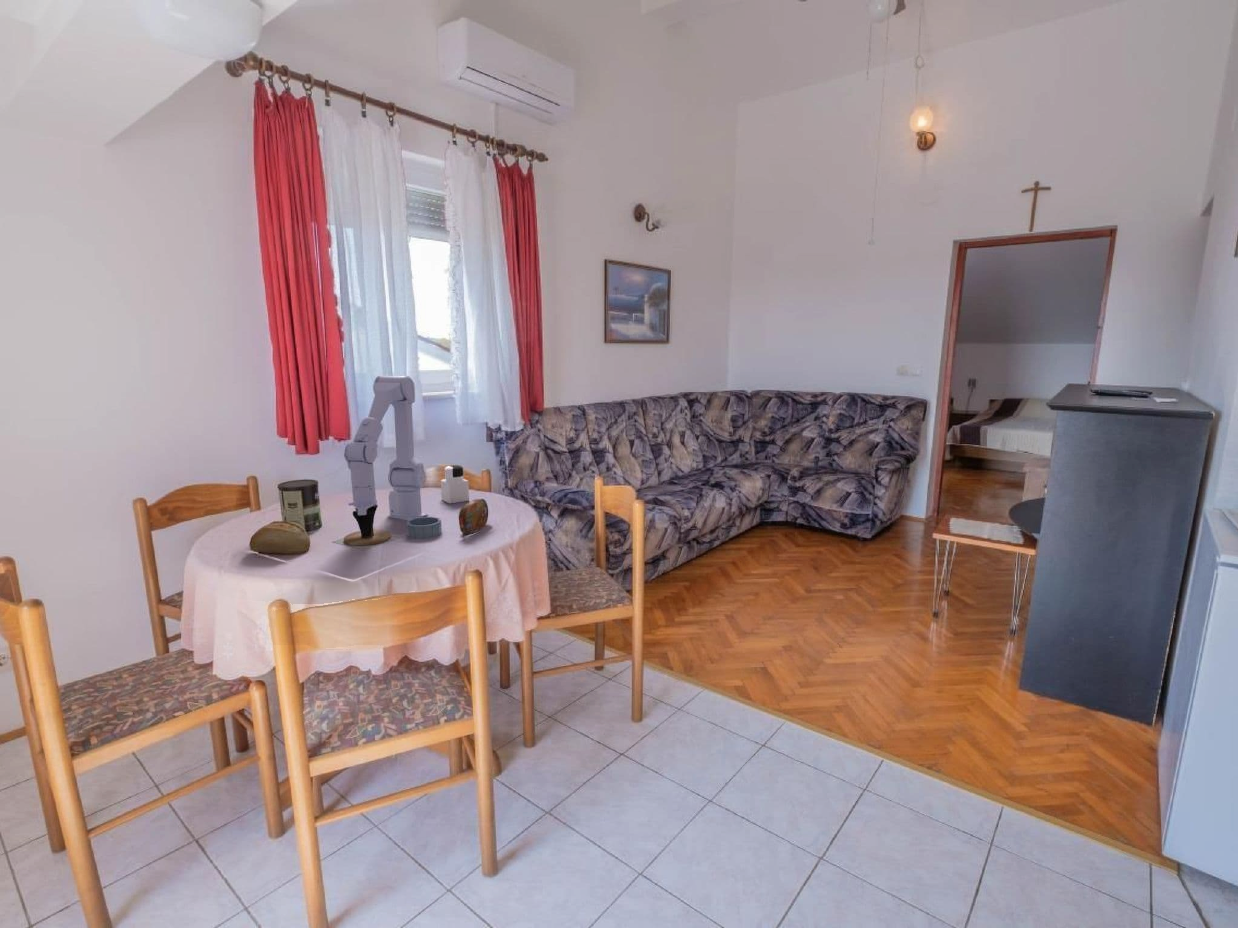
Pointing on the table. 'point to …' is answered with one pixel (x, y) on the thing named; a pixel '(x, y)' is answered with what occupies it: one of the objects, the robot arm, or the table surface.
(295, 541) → the bread roll
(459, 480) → the medicine bottle
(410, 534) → the bowl
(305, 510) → the coffee can
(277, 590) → the table surface
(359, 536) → the lid
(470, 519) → the tin
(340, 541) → the mat
